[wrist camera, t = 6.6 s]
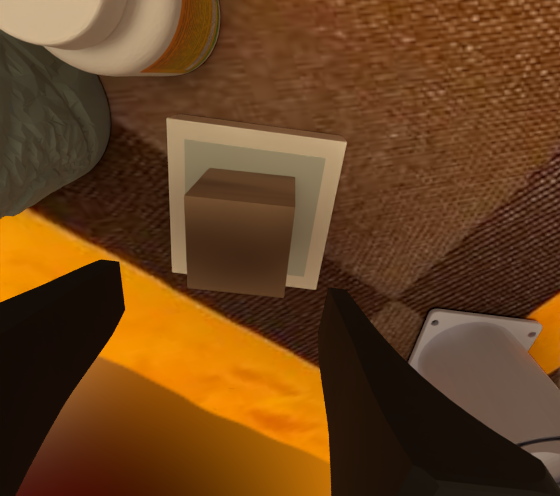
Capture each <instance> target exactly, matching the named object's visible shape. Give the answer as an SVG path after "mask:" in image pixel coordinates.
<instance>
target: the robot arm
mask: <svg viewBox="0 0 560 496" xmlns="http://www.w3.org/2000/svg"><path fill="white" fill-rule="evenodd" d="M124 311H125V305H124V297H123V288H122V280H121V272H120V264H119V262H117V261H109V260H98V261H96V262H93V263H91V264H88V265H86V266H84V267H81V268H79V269H77V270H74V271H72V272H70V273H68V274H66V275H63V276H61V277H59V278H57V279H55V280H52V281H50V282H48V283H46V284H43V285H41V286H39V287H37V288H34V289H32V290H29V291H27V292H24V293H22V294H20V295H17V296H15V297H12V298H10V299H7V300H5V301H3V302H0V496H15V495H16V493H17V491H18V489H19V487H20V485H21V483H22V481H23V479H24V477H25V475H26V473H27V471H28V469H29V467H30V465H31V464H32V462H33V460H34V458H35V456H36V454H37V452H38V450H39V448H40V447H41V445H42V443H43V441H44V439H45V437H46V435H47V434H48V432H49V430H50V428H51V427H52V425H53V423H54V421H55V420H56V418H57V416H58V414H59V412H60V410H61V409H62V407H63V406H64V404H65V402H66V401H67V399H68V398H69V396H70V395H71V393H72V392H73V390H74V389H75V387H76V386H77V384H78V383H79V382H80V380H81V379H82V377H83V376H84V375H85V373H86V372H87V370H88V369H89V367H90V366H91V365H92V363H93V362H94V360H95V359H96V358H97V356H98V355H99V353H100V352H101V351H102V349H103V348H104V346H105V345H106V343H107V342H108V340H109V339H110V337H111V336H112V334H113V332H114V331H115V329H116V327H117V325H118V323H119V321H120V319H121V317H122V315H123V313H124ZM434 320H436V321H435V322H432V321H434ZM541 330H542V325H541V324H540V323H539V322H538V321H534V320H526V319H518V318H510V317H502V316H494V315H486V314H477V313H469V312H461V311H453V310H445V309H433V310H431V311H430V312H429V314H428V316H427V318H426V321H425V323H424V325H423V328H422V330H421V333H420V335H419V337H418V340H417V342H416V344H415V347H414V349H413V352H412V354H411V356H410V359H409V361H408V363H407V362H406V361H405V360H404V359H403V358H402V357H401V356H400V355H399V354H398V353H397V352H396V351H395V349H394V348H393V347H392V346H391V345H390V344H389V343H388V342H387V341H386V340H385V339H384V337H383V336H382V335H381V334H380V333H379V332H378V330H377V329H376V328H375V327H374V326H373V324H372V323H371V322H370V321H369V319H368V318H367V317H366V316H365V314H364V313H363V312H362V310H361V309H360V308H359V306H358V305H357V304H356V302H355V301H354V300H353V298H352V297H351V296H350V294H349V293H348V292H347V290H344V289H336V288H328V292H327V297H326V301H325V305H324V310H323V314H322V318H321V323H320V327H319V331H318V353H319V366H320V373H321V380H322V387H323V394H324V401H325V407H326V414H327V421H328V431H329V447H330V468H331V496H560V390H559V389H558V387H557V386H556V385H555V384H554V383H553V381H552V380H551V379H550V378H549V377H548V376H547V374H546V373H545V372H544V371H543V370H542V368H541V367H540V366H539V365H538V364H537V362H536V361H535V360H534V359H533V358H532V357H531V355H530V354H529V353H528V350H529V349H530V347H531V346H532V344H533V343H534V341H535V339H536V338H537V336H538V335H539V333H540V332H541Z"/></svg>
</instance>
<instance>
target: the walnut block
mask: <svg viewBox="0 0 560 496" xmlns="http://www.w3.org/2000/svg"><path fill="white" fill-rule="evenodd" d="M184 212H185V237H186V261H187V285H188V288H192V289H202V290H212V291H221V292H231V293H241V294H251V295H261V296H270V297H280V298H284V293H285V286H286V278H287V270H288V262H289V254H290V246H291V238H292V230H293V222H294V214H295V177H292V176H282V175H273V174H263V173H254V172H245V171H235V170H226V169H217V168H209V169H208V170H207V171H206V172H205V173H204V174H203V175H202V176H201V177H200V179H199V180H198V181H197V182H196V183H195V184H194V185H193V186H192V187H191V188H190V189H189V191H188V192H187V193H186V194H185V195H184Z"/></svg>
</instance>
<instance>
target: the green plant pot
mask: <svg viewBox="0 0 560 496" xmlns="http://www.w3.org/2000/svg"><path fill="white" fill-rule="evenodd" d="M110 127H111V122H110V111H109V106H108V101H107V98H106V95H105V92H104V89H103V86H102V84H101V82H100V80H99V78H98V76H97V74H93V73H89V72H86V71H83V70H80V69H78V68H75V67H73V66H71V65H69V64H67V63H66V62H64V61H62V60H61V59H59V58H58V57H56V56H55V55H53V54H52V53H51V52H50V51H48V50H47V49H46V48H45V47H44V46H41V45H36V44H32V43H28V42H25V41H22V40H20V39H17V38H15V37H13V36H11V35H9V34H8V33H6V32H4V31H2V30H1V29H0V219H1V218H2V217H4V216H15V215H17V214H19V213H21V212H22V211H24V210H25V209H26V208H28V207H31V206H33V205H34V204H36V203H37V202H39V201H40V200H41V199H43V198H44V197H46V196H47V195H49V194H50V193H51V192H54V191H56V190H58V189H59V188H61V187H62V186H64V185H66V184H69V183H71V182H73V181H74V180H76V179H78V178H80V177H81V176H83V175H85V174H86V173H88V172H89V171H90V170H91V169H92V168H93V167H94V166H95V165H96V164H97V163H98V162H99V160H100V159H101V157H102V155H103V154H104V152H105V149H106V147H107V144H108V140H109V136H110Z"/></svg>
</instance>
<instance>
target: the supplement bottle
mask: <svg viewBox="0 0 560 496" xmlns="http://www.w3.org/2000/svg"><path fill="white" fill-rule="evenodd" d="M0 29H1V30H2V31H4V32H6V33H8V34H9V35H11V36H13V37H15V38H17V39H20V40H22V41H25V42H28V43H32V44H36V45H41V46H44V47H45V48H46V49H47V50H48V51H50V52H51V53H52V54H53V55H55V56H56V57H58V58H59V59H61V60H62V61H64V62H66V63H67V64H69V65H71V66H73V67H75V68H78V69H80V70H83V71H86V72H89V73H93V74H98V75H105V76H177V75H183V74H186V73H189V72H191V71H193V70H195V69H196V68H198V67H199V66H200V65H201V64H202V63H203V62H204V61H205V60H206V59H207V58H208V57H209V55H210V54H211V52H212V50H213V49H214V46H215V44H216V41H217V38H218V34H219V29H220V6H219V0H0Z"/></svg>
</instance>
